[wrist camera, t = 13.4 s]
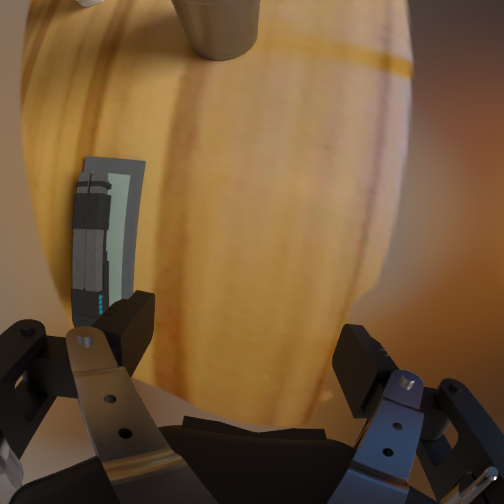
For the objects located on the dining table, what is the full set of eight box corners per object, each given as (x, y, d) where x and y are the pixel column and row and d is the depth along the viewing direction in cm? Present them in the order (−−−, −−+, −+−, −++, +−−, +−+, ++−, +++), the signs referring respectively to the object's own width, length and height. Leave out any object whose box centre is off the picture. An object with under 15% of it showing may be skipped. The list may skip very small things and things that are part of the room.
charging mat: (89, 156, 34) (85, 156, 33) (145, 161, 35) (142, 160, 33) (83, 318, 40) (79, 322, 39) (132, 332, 40) (129, 336, 39)
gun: (96, 322, 38) (60, 331, 28) (108, 192, 40) (77, 170, 30) (122, 326, 38) (90, 338, 28) (133, 192, 40) (106, 169, 30)
